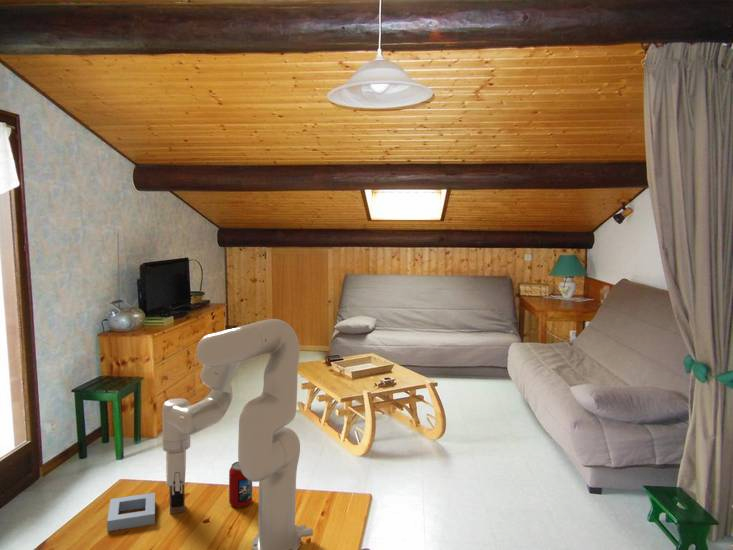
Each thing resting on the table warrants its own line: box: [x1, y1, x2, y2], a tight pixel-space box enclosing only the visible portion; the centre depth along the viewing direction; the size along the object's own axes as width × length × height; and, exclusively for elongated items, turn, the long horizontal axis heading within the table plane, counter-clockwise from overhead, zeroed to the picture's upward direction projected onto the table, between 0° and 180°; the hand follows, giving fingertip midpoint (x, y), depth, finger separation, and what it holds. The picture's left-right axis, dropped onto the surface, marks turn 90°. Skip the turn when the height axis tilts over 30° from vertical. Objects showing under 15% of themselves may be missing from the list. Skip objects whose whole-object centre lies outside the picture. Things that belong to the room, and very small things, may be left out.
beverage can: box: [228, 461, 253, 508], centre depth 163 cm, size 7×7×12 cm
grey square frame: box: [106, 492, 156, 532], centre depth 155 cm, size 12×12×3 cm
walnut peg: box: [168, 472, 186, 515], centre depth 159 cm, size 4×4×11 cm
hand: (177, 501), depth 159 cm, fingers closed on walnut peg, 3 cm apart
